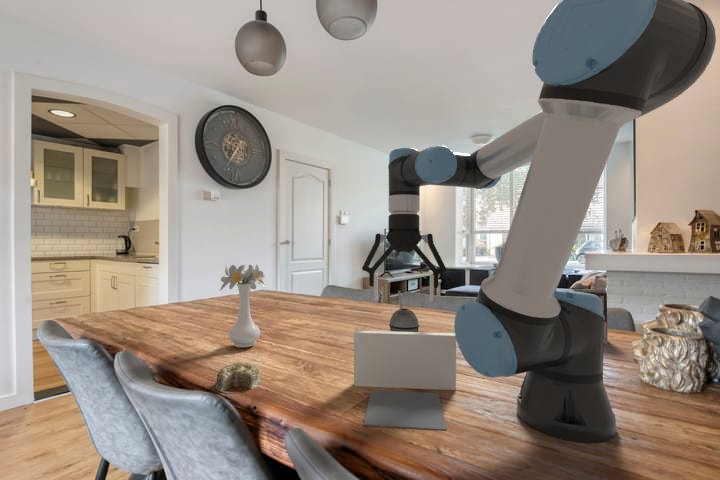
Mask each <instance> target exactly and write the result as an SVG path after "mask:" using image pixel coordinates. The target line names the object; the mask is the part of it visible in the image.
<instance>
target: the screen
mask: <svg viewBox="0 0 720 480" xmlns="http://www.w3.org/2000/svg"><path fill="white" fill-rule="evenodd" d="M353 386H354V387H365V388H367V387H369V388H370V387H371V388H372V387H373V388H391V389H392V388H394V389H419V390H421V389H422V390H446V391H447V390H448V391H456V390H457V340H456V336H455V332H453V333H452V332H429V331H428V332H424V331H423V332H421V331H418V332H394V331H390V330H385V331H384V330H360V329H359V330H357V329H356V330H354V332H353Z"/></svg>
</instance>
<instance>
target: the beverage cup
mask: <svg viewBox="0 0 720 480" xmlns="http://www.w3.org/2000/svg"><path fill="white" fill-rule="evenodd" d="M397 292H398V299H399V300H398V302H399V309H397V310H395V311H394V312H393V313H392V315H391V317H390V319H389V324H388V326H389V329H390V330H389V331H394V332H419V328H420V325H419V320H418V317H417V315H416V314H415V312H414V311H413V310H411V309H409V308H403V304H402V303H403V302H402V294H401V290H398V291H397Z"/></svg>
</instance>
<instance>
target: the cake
mask: <svg viewBox="0 0 720 480" xmlns="http://www.w3.org/2000/svg"><path fill="white" fill-rule="evenodd" d="M259 373H260V369H259V366H257V365H255V364H254V363H252V362H251V363H249V362H241V361H239V362H237V363H235V362H234V363H232V364H229V365H225V366H224V367H222V368H220V370H219V371H218V372H217V374H216V377H217V378H216V382H215V383H214V388H215V390H216V391H218V392H220V393H224V394H240V393H242V392H239V391H235V392H233V391H227V390H228V389H230V388H232V387H233V388H234V387H235V388H236V387H243V388H246V389H248V390H253V389H256V388H258V387H260V385H262V379H261V378H260V374H259Z"/></svg>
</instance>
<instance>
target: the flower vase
mask: <svg viewBox="0 0 720 480" xmlns="http://www.w3.org/2000/svg"><path fill="white" fill-rule="evenodd" d="M245 267H246V265H245V264H241V265H239V266H238V267H237V266H236V265H235V264H232V265H230V266H229V268H228V267H227V265H225V268H224V269H225V270H224V272H225V274H224V275H222V276H221V277H220V281H221V283H222V285H221V287H220V290H219V291H220V292H221V291H222V290H223V289H224V288H225V287H226V286H229V287H228V288H229V290H232V289H233V288H234V287H235V286H237V288H238V295H239V300H238V301H239V304H238V305H239V307H238V316H237V319H236V322H235V324H234V325H233V326H232V327H231V329H230V330H229V332H228V338H229V340H230V341H231V342H232V343H233V345H234V347H235V348H249V347H253V346H254V345H255V344H256V341H257V340H258V339H259V338H260V336H261V330H260V328H259V326H258V325H257V324H256V323H255V322H254V320H253V318H252V316H251V307H250V306H251V303H250V296H251V295H250V294H251V290H256V289H257V285H258V284H259V285H260V286H262V287H263V288H265V287H266V286H265V284H264V281H263V280H265V279H266V276H265V274H264V272H263V271H262V270H260V268H259V265H258V264H255V266H254V267H253V265H252V264H249V265H248V268H247V270H246V269H245ZM256 284H257V285H256Z"/></svg>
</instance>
